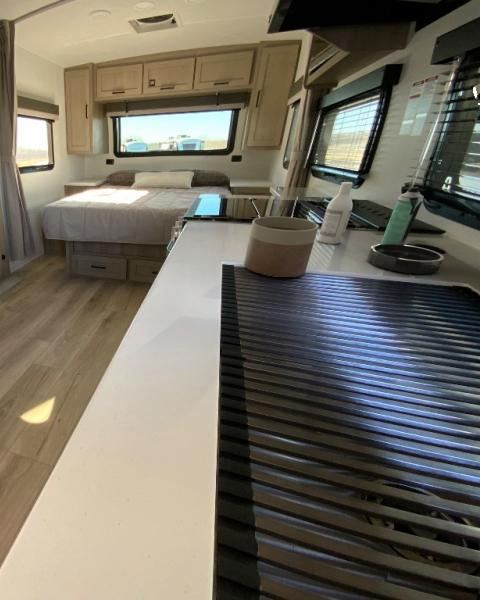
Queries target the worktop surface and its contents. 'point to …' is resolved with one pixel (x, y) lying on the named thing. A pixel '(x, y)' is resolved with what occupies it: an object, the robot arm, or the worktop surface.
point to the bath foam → (337, 216)
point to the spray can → (403, 217)
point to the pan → (405, 258)
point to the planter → (280, 246)
